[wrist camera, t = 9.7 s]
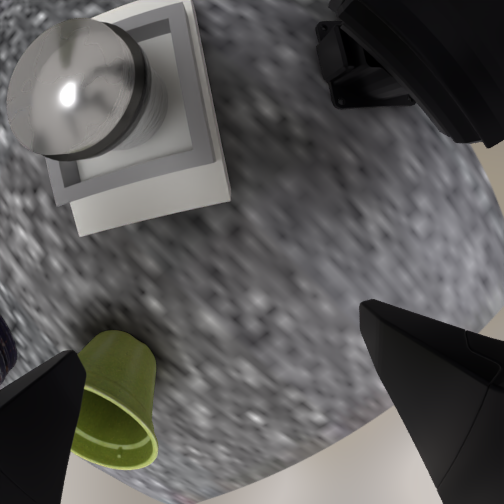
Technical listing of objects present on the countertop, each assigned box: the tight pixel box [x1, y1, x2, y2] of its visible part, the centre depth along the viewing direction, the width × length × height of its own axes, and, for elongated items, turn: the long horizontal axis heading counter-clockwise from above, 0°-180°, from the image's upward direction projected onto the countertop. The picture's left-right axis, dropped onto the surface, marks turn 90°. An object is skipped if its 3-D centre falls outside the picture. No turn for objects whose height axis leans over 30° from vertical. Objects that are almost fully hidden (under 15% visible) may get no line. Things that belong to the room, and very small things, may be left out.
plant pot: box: [71, 330, 158, 470], centre depth 20 cm, size 9×9×9 cm
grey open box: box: [45, 0, 231, 237], centre depth 15 cm, size 9×13×6 cm
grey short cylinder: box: [7, 18, 168, 161], centre depth 11 cm, size 6×6×7 cm
